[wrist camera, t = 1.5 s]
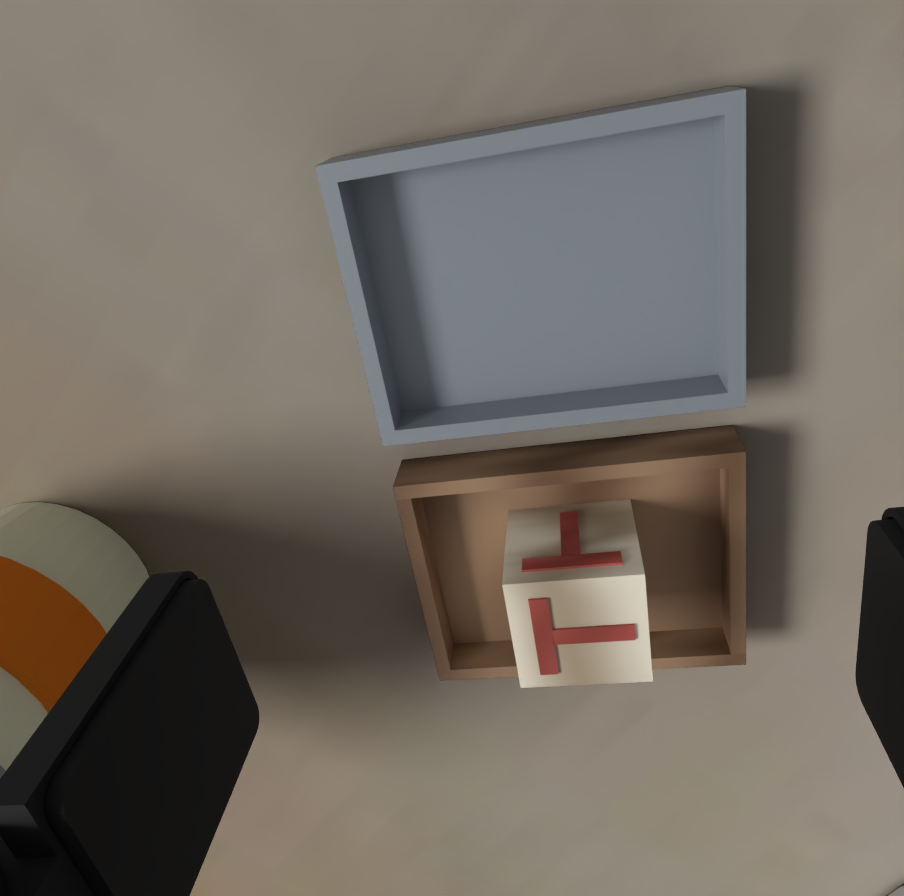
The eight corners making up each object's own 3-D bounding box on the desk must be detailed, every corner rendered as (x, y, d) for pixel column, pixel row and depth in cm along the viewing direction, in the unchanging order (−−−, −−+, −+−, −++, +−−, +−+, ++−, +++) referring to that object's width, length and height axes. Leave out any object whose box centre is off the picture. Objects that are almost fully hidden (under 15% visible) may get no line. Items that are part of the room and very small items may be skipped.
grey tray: (729, 85, 24) (745, 88, 22) (732, 382, 28) (746, 406, 26) (331, 157, 26) (315, 166, 24) (393, 421, 31) (382, 446, 29)
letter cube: (630, 496, 30) (645, 573, 26) (638, 596, 33) (653, 683, 28) (507, 508, 31) (501, 584, 27) (523, 604, 34) (520, 689, 29)
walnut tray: (732, 425, 29) (746, 451, 27) (734, 628, 34) (745, 664, 32) (402, 459, 31) (392, 486, 29) (445, 646, 36) (439, 680, 34)
